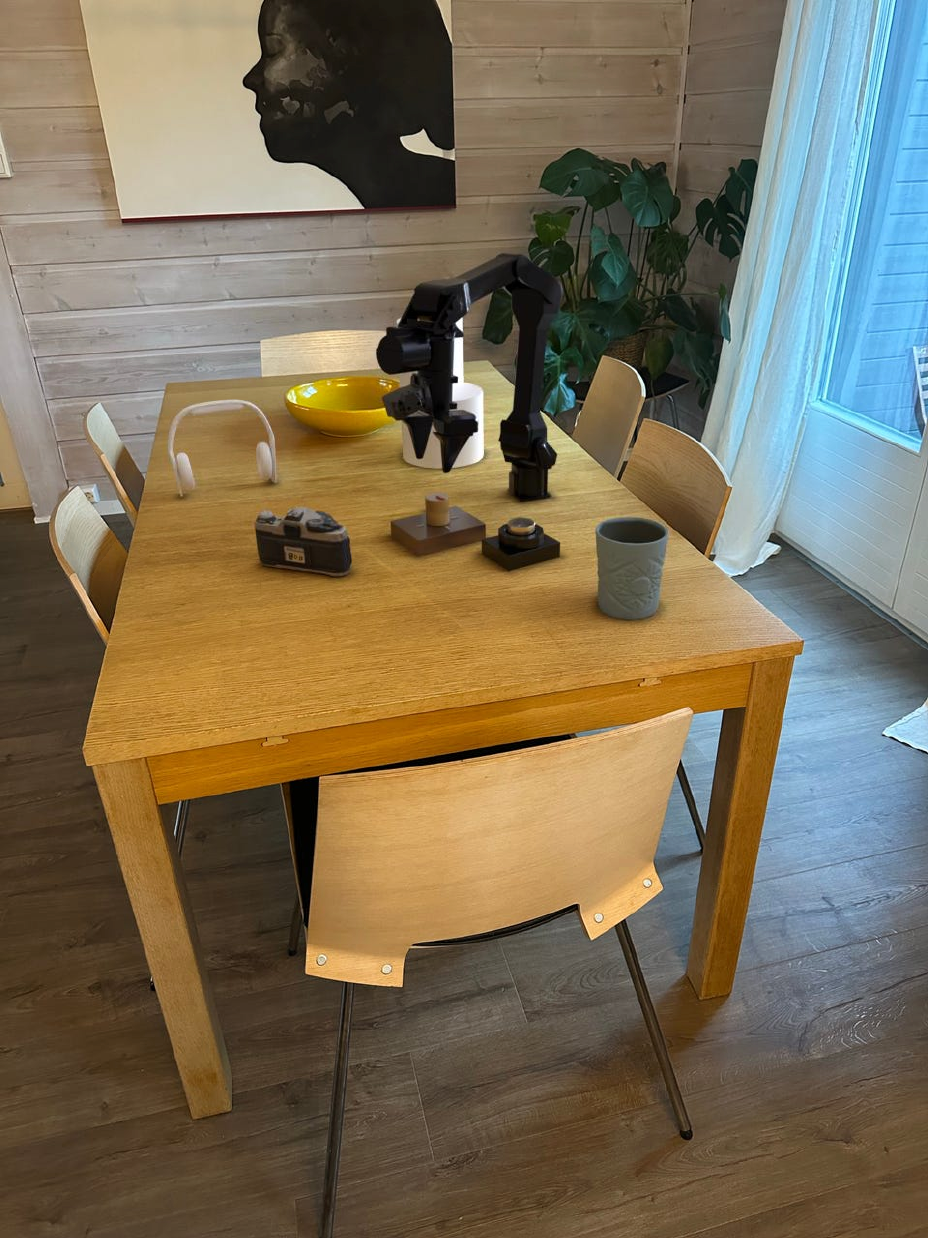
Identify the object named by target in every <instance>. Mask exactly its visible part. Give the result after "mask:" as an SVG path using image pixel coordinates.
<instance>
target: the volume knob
mask: <svg viewBox="0 0 928 1238" xmlns="http://www.w3.org/2000/svg"><path fill="white" fill-rule="evenodd" d="M424 503H425V504H424V506H425V513H426V523H427V524H428V525H431V526H444V525H447V524H448V523H449V522H450V517H449V507H450V496H449V495H448V494H447V493H443V492H432V493H428V494H426V495H425V497H424Z"/></svg>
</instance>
